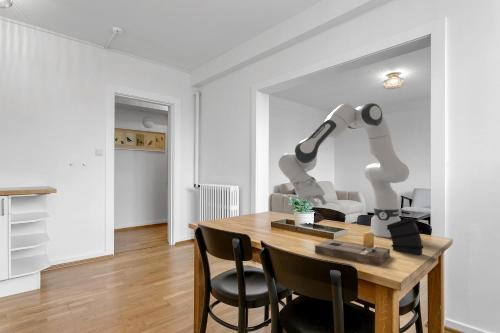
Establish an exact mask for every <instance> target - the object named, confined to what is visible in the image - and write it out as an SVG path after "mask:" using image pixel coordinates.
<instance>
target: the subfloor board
mask: <svg viewBox="0 0 500 333" xmlns="http://www.w3.org/2000/svg"><path fill="white" fill-rule="evenodd" d="M314 253H316V254H321V255H327V256H331V257H334V258H335V257H336V258H340V259H346V260H351V261H356V262H360V263H366V264H371V265H374V264H375V266H379V265H380V266H381V265H383V263H384V262H385V261H387V260H388V259H389V258H390V257H391V248H387V247H386V248H385V247H381V246H376V245H374V247H373V248H372V252H370V251H366V248H365V247H364V244H363V243H362V244H361V243H356V242H350V241H343V240H337V239H331V238H329V239H327V240H324V241H322V242H320V243H318V244H315V245H314Z"/></svg>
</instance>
